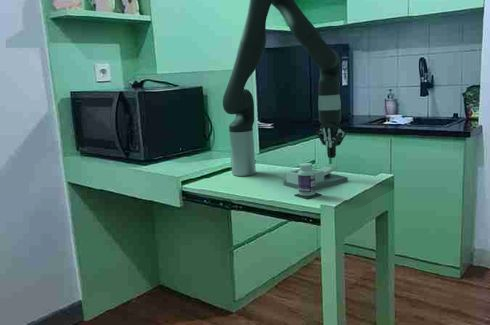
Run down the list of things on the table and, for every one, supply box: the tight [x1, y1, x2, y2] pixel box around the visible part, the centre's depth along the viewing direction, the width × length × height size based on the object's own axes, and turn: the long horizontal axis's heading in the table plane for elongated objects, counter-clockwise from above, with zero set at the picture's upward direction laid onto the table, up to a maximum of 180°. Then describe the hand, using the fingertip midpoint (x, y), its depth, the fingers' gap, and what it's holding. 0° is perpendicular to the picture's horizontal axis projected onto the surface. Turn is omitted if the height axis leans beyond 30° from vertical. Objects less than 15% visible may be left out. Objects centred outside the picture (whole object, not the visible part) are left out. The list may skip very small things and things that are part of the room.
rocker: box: [318, 163, 339, 176], centre depth 157 cm, size 4×8×1 cm, turn 123°
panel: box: [282, 168, 349, 191], centre depth 155 cm, size 13×18×5 cm
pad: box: [294, 192, 323, 200], centre depth 140 cm, size 6×6×1 cm
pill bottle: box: [298, 162, 317, 196], centre depth 140 cm, size 5×5×10 cm
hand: (331, 157), depth 158 cm, fingers closed
